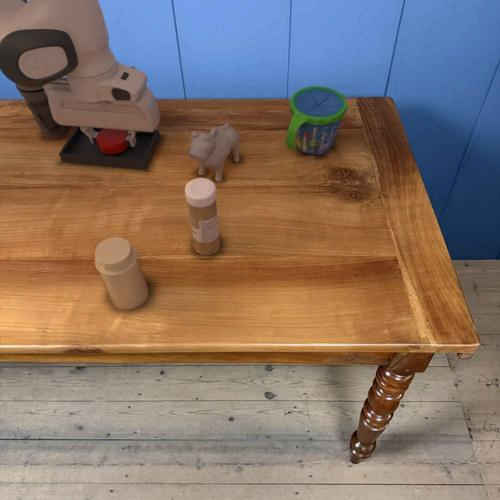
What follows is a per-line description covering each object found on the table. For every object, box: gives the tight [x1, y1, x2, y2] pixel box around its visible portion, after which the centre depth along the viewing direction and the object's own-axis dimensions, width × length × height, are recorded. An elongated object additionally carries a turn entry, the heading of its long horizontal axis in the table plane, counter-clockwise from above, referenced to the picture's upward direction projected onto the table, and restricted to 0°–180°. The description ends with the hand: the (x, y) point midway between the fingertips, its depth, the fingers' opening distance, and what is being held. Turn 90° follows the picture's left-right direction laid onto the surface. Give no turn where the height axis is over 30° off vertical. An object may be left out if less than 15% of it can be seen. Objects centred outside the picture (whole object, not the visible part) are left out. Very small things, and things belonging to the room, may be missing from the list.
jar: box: [94, 236, 149, 311], centre depth 67 cm, size 6×6×11 cm
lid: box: [96, 129, 128, 154], centre depth 91 cm, size 6×6×2 cm
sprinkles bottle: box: [184, 177, 221, 256], centre depth 71 cm, size 5×5×14 cm
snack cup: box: [284, 85, 349, 156], centre depth 89 cm, size 16×10×10 cm
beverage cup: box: [14, 83, 67, 140], centre depth 89 cm, size 7×7×20 cm
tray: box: [58, 126, 162, 171], centre depth 92 cm, size 17×10×2 cm, turn 82°
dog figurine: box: [187, 122, 240, 182], centre depth 84 cm, size 5×13×11 cm, turn 151°
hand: (114, 143), depth 91 cm, fingers closed on lid, 6 cm apart
